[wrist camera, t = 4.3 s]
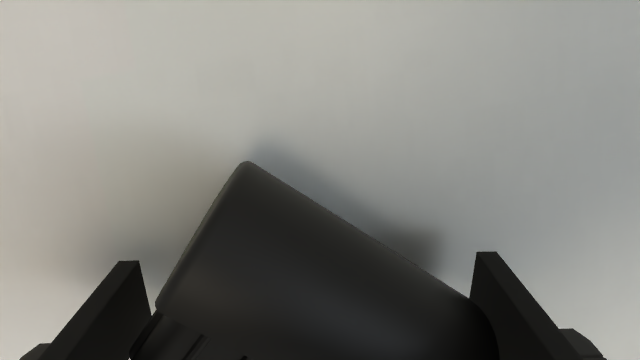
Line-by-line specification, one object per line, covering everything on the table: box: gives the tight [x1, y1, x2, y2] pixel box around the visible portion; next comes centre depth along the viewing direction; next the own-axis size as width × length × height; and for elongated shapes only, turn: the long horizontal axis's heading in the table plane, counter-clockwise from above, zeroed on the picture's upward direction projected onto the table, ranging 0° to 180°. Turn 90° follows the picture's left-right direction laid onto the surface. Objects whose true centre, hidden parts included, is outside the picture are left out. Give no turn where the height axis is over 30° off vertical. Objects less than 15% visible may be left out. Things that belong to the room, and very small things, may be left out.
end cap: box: [129, 161, 500, 360], centre depth 13 cm, size 10×7×7 cm
